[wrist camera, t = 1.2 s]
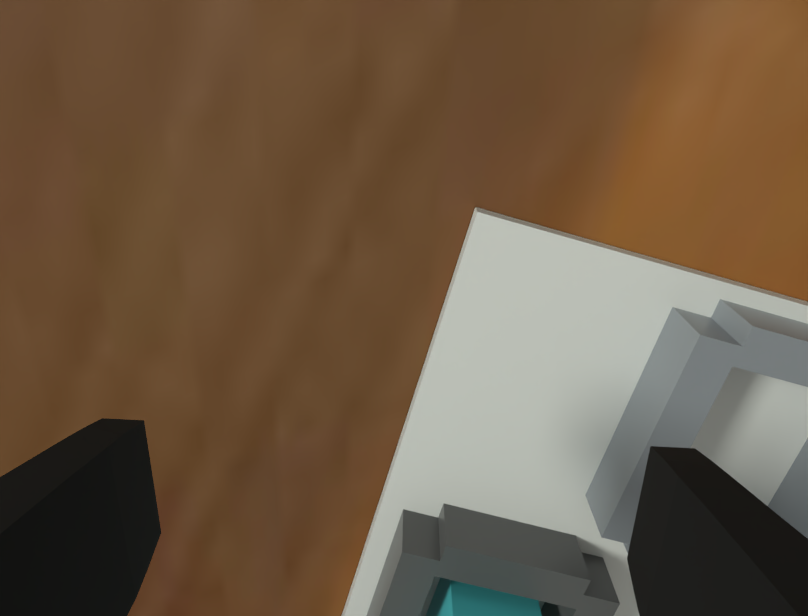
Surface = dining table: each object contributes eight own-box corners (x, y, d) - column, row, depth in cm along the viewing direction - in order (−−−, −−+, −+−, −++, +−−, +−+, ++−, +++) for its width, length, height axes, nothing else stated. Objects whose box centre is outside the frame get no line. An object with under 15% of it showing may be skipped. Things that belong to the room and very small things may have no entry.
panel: (671, 734, 26) (697, 804, 24) (327, 659, 25) (318, 724, 23) (920, 333, 20) (989, 373, 18) (475, 206, 19) (484, 230, 16)
